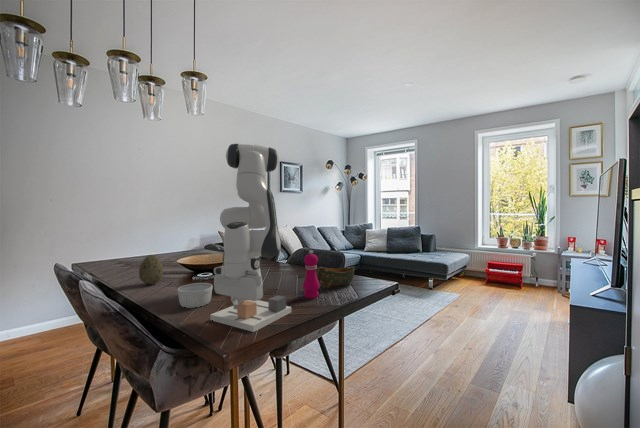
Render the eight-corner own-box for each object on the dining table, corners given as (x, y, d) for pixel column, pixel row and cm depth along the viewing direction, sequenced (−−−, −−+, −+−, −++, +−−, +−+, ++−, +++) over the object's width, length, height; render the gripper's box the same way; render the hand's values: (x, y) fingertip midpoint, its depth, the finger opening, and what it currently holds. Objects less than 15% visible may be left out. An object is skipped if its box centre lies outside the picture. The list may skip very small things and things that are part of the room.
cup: (314, 282, 153) (314, 262, 153) (353, 283, 152) (353, 263, 152) (312, 290, 140) (312, 268, 140) (355, 290, 139) (355, 269, 139)
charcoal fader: (268, 310, 107) (268, 298, 107) (277, 306, 111) (277, 295, 111) (277, 312, 105) (277, 300, 105) (286, 307, 109) (286, 296, 109)
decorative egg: (168, 282, 156) (167, 254, 156) (148, 288, 147) (147, 257, 146) (153, 280, 161) (153, 252, 160) (134, 285, 151) (133, 256, 151)
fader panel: (210, 320, 104) (210, 314, 104) (251, 303, 121) (251, 298, 121) (253, 332, 94) (253, 325, 94) (291, 312, 111) (291, 306, 111)
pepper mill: (317, 299, 126) (317, 251, 125) (301, 298, 127) (300, 251, 127) (321, 294, 133) (320, 249, 132) (305, 293, 134) (304, 249, 134)
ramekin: (196, 311, 114) (196, 292, 113) (169, 307, 118) (169, 289, 118) (219, 300, 126) (219, 284, 126) (194, 297, 130) (194, 281, 130)
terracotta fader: (237, 316, 101) (237, 304, 101) (248, 312, 105) (247, 300, 105) (246, 318, 99) (245, 306, 99) (256, 314, 103) (256, 302, 103)
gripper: (266, 270, 101) (267, 311, 101) (224, 265, 111) (225, 302, 112) (253, 274, 95) (254, 317, 96) (210, 268, 106) (211, 307, 106)
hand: (238, 309), depth 104 cm, fingers closed
